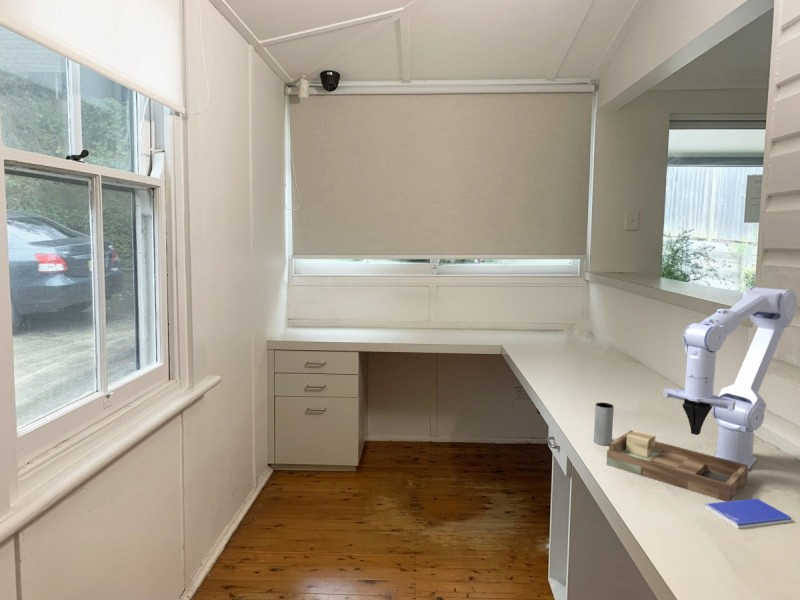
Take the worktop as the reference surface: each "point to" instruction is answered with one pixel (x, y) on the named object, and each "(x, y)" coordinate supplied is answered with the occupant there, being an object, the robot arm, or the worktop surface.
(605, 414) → the planter
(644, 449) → the maple block
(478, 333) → the worktop surface
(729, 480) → the tray
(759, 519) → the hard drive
